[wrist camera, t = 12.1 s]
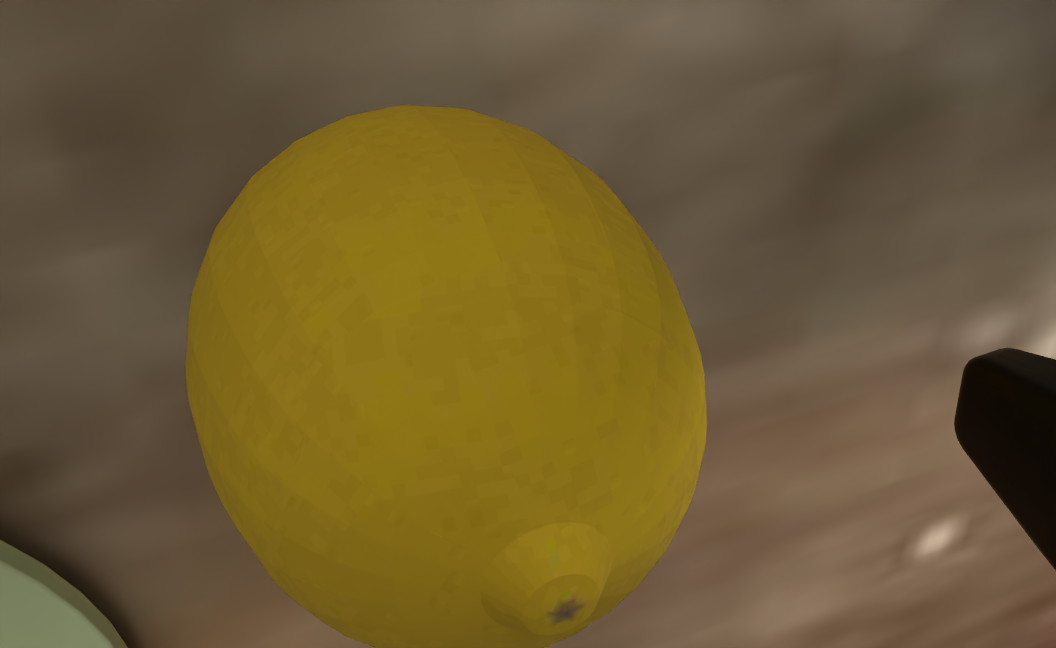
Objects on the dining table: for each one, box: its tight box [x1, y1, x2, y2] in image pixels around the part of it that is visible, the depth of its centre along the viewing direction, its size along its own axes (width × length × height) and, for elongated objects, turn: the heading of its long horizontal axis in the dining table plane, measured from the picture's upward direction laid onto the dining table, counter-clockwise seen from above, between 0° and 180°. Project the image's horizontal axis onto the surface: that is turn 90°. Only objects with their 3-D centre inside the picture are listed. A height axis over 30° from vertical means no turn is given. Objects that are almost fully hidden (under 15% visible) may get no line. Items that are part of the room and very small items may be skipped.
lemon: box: [186, 105, 707, 648], centre depth 11 cm, size 6×6×8 cm
